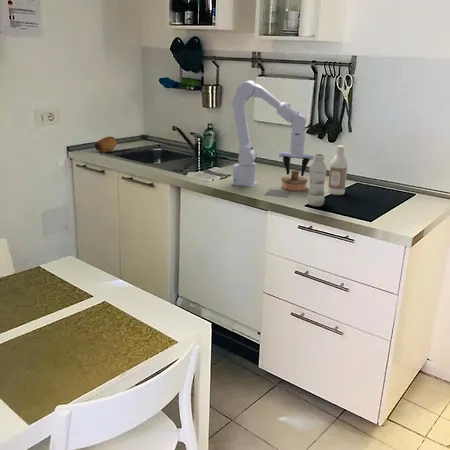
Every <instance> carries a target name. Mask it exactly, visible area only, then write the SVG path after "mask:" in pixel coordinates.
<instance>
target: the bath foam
mask: <svg viewBox="0 0 450 450" xmlns="http://www.w3.org/2000/svg"><path fill="white" fill-rule="evenodd" d="M344 151H345V146H344V145H337V146H336V154H335V156H334V157H333V158H332V159H331V162H330V164H329V165H330V166H329V174H328V175H329V176H328V186H327V193H329V194H331V195H333V196H334V195H335V196H342V195H344V194H345V190H346V182H347V172H348V162H347V159H346V157H345V155H344V153H345V152H344Z"/></svg>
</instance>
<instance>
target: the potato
mask: <svg viewBox="0 0 450 450" xmlns="http://www.w3.org/2000/svg"><path fill="white" fill-rule="evenodd" d="M116 147H117V139H116V137H114V136H110V135H109V136H106V137H103V138H100V140H98V141H97V142H96V143H94V148H95V150H97V151H99V153H100V152H101V153H106V152H105V151H109V152H111V151H113V150H114V149H115V148H116Z"/></svg>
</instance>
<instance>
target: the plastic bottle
mask: <svg viewBox="0 0 450 450" xmlns="http://www.w3.org/2000/svg"><path fill="white" fill-rule="evenodd" d="M313 155H314V159H313V162H312V163H311V164H310V166H309V170H308V171H309V186H308V187H309V189H308V194H307V198H306V201H307V204H308V205H309V206H312V207H322V206H323V205H324V204H325V200H326V199H325V182H326V181H325V180H326V176H327V171H328V169H327V164H325V162H324V161H325V154H322V153H318V154H317V153H316V154H315V153H314V154H313Z"/></svg>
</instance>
